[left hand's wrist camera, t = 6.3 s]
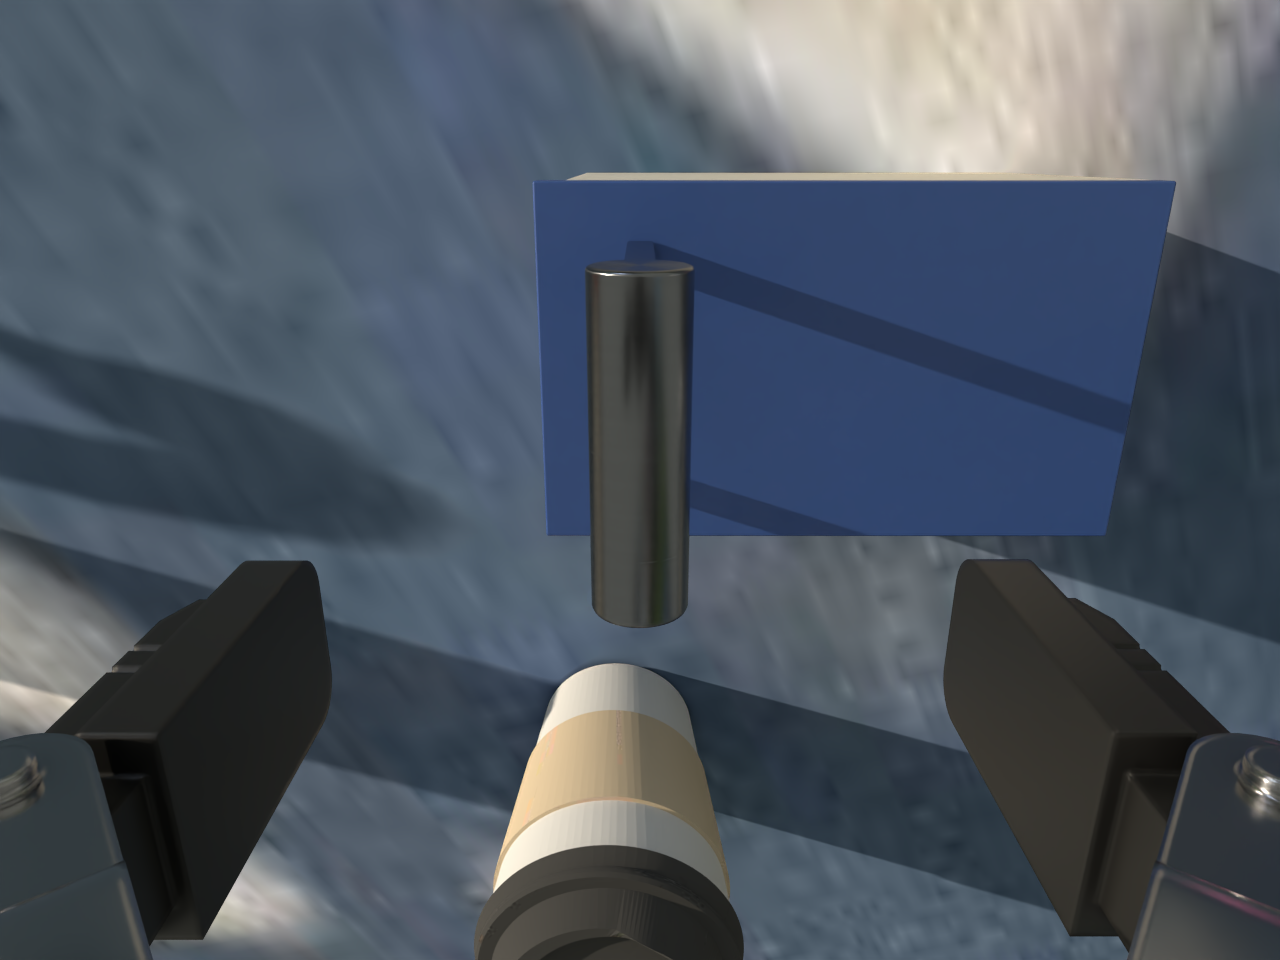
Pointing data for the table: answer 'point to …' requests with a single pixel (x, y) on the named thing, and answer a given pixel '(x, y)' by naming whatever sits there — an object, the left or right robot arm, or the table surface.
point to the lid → (833, 362)
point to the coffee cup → (612, 834)
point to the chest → (830, 176)
